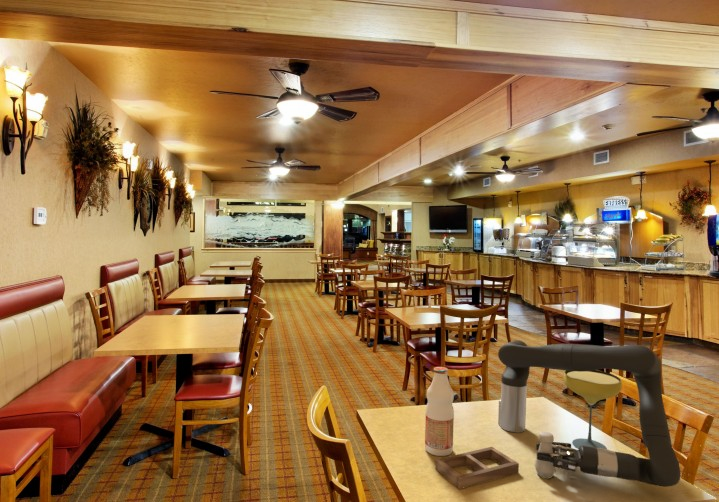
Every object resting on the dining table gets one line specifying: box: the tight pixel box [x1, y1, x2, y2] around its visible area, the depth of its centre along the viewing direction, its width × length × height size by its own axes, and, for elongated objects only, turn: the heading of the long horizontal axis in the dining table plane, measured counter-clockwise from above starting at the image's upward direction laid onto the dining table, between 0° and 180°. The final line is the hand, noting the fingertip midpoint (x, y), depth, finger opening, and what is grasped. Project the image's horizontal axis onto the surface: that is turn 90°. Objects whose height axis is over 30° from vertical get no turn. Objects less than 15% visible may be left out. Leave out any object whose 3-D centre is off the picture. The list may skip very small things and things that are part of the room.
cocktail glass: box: [563, 370, 623, 450], centre depth 156 cm, size 18×18×25 cm
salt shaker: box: [534, 431, 556, 479], centre depth 137 cm, size 6×6×13 cm
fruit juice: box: [424, 366, 455, 457], centre depth 151 cm, size 9×9×28 cm
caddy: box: [435, 446, 520, 489], centre depth 138 cm, size 12×22×3 cm, turn 115°
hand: (536, 451), depth 138 cm, fingers open, 5 cm apart
